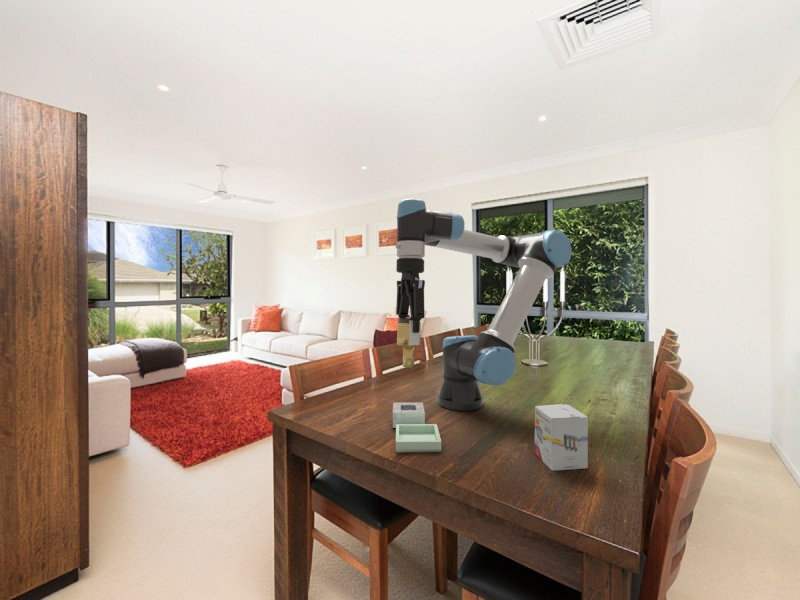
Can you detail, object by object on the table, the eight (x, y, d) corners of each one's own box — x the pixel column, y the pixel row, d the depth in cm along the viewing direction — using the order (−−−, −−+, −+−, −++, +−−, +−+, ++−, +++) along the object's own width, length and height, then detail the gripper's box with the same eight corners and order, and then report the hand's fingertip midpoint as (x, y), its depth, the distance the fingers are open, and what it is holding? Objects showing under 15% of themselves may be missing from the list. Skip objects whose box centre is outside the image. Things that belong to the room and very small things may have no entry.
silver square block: (422, 417, 109) (422, 402, 109) (424, 428, 100) (424, 413, 100) (393, 417, 109) (393, 402, 109) (392, 428, 100) (392, 413, 100)
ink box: (533, 452, 86) (533, 404, 85) (567, 451, 87) (568, 402, 86) (551, 471, 77) (551, 417, 77) (589, 469, 78) (590, 415, 77)
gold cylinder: (393, 364, 100) (394, 317, 99) (414, 363, 102) (415, 317, 102) (402, 369, 94) (402, 319, 94) (424, 368, 96) (425, 319, 96)
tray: (436, 433, 97) (436, 424, 97) (441, 452, 86) (441, 441, 86) (396, 433, 97) (396, 424, 97) (395, 452, 86) (395, 442, 86)
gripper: (385, 260, 105) (384, 338, 105) (412, 254, 87) (410, 349, 87) (408, 261, 108) (407, 337, 108) (439, 256, 90) (437, 348, 90)
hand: (408, 342), depth 98 cm, fingers closed on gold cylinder, 6 cm apart
